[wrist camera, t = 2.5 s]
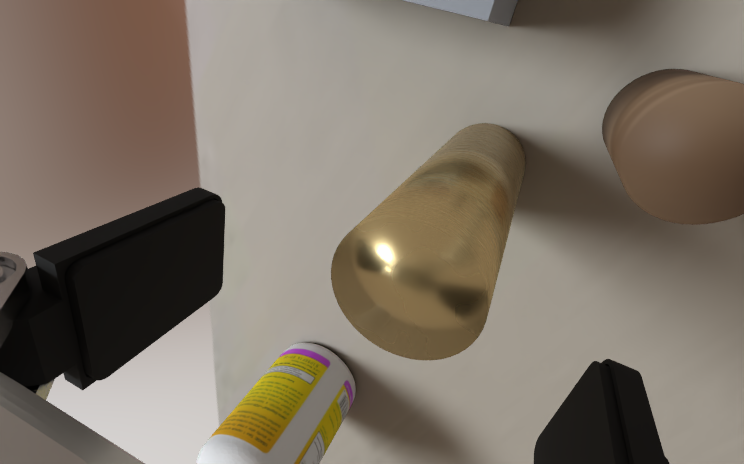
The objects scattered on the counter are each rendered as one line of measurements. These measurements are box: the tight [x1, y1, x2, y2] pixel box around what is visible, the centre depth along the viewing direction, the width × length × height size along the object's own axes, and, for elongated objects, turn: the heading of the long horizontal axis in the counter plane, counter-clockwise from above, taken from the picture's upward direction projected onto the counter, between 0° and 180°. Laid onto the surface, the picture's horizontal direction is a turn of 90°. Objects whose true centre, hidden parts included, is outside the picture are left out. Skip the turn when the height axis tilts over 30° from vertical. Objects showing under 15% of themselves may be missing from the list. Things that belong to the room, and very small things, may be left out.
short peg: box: [602, 69, 744, 225], centre depth 14 cm, size 4×4×6 cm
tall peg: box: [331, 123, 526, 360], centre depth 15 cm, size 4×4×12 cm
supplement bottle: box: [196, 343, 356, 464], centre depth 26 cm, size 7×7×13 cm
